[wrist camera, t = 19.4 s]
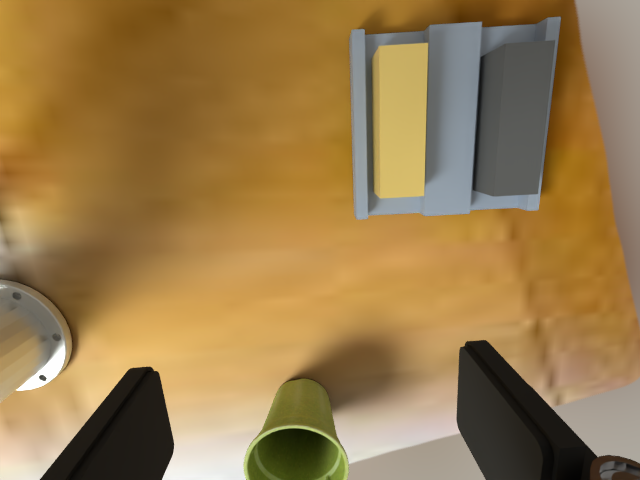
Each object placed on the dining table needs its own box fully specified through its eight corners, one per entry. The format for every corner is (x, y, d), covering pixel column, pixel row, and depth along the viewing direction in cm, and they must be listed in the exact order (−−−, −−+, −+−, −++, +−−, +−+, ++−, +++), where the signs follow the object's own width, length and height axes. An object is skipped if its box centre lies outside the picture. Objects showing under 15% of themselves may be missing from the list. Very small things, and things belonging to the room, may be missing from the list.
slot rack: (354, 214, 33) (356, 219, 31) (349, 39, 29) (351, 29, 27) (522, 205, 33) (538, 210, 30) (541, 27, 29) (561, 16, 26)
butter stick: (371, 59, 29) (379, 45, 25) (413, 56, 28) (428, 42, 25) (373, 191, 31) (380, 198, 28) (411, 189, 31) (424, 196, 28)
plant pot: (246, 413, 39) (225, 486, 31) (283, 350, 37) (272, 410, 29) (318, 445, 41) (317, 523, 32) (358, 385, 38) (368, 453, 30)
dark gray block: (480, 56, 28) (505, 43, 25) (523, 54, 28) (555, 40, 25) (472, 190, 31) (493, 196, 28) (511, 187, 31) (538, 194, 27)
